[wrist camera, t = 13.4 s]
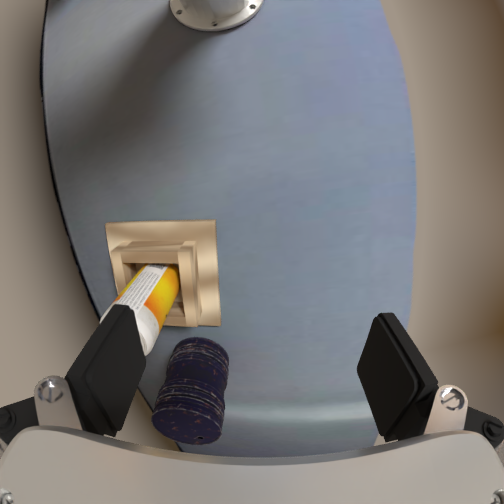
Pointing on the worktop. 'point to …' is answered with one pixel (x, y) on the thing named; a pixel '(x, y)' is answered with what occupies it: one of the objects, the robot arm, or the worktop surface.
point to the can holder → (172, 251)
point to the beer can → (150, 299)
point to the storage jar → (193, 393)
